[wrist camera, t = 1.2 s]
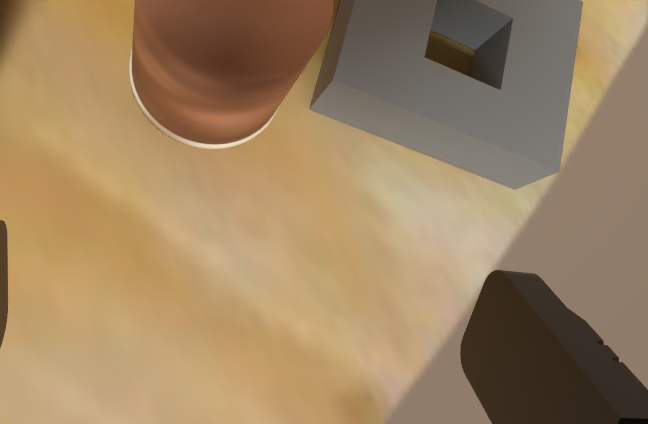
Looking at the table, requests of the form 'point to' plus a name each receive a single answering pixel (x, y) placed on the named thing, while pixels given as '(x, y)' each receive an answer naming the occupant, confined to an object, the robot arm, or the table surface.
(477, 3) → the board
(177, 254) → the table surface
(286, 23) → the peg
